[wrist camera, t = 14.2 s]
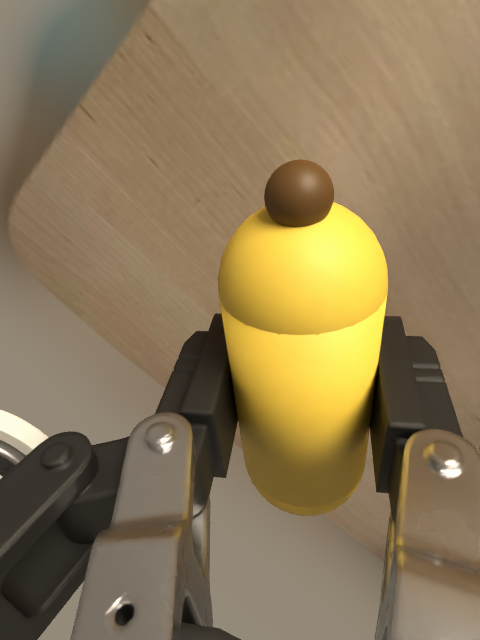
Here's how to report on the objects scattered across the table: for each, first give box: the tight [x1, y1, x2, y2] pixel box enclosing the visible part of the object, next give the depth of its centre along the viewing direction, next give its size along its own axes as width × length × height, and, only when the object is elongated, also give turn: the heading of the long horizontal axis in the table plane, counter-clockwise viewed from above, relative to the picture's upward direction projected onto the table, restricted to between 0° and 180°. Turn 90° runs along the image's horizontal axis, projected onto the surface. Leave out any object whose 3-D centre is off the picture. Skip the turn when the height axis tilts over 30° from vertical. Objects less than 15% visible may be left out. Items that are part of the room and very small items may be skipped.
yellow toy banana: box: [218, 160, 388, 516], centre depth 10 cm, size 10×3×3 cm, turn 6°
